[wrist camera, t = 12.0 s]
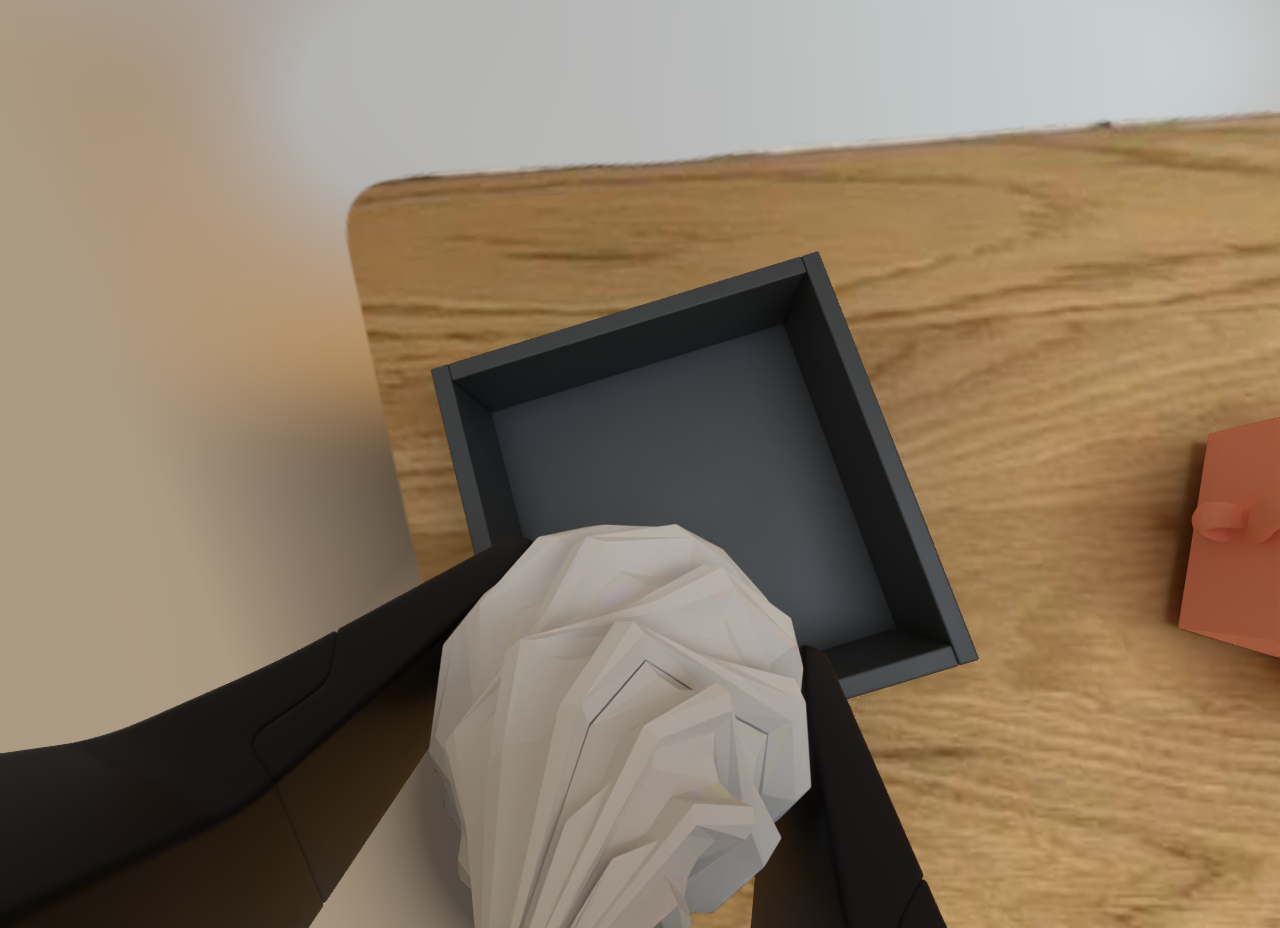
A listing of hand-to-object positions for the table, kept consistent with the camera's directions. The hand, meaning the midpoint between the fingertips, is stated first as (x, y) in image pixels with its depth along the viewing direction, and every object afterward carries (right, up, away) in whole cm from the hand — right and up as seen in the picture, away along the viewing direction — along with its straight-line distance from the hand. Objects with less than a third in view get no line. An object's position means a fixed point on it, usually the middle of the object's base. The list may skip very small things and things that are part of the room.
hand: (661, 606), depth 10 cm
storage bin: (+1, +1, +11) cm, 11 cm away
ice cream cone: (0, -3, +7) cm, 7 cm away
